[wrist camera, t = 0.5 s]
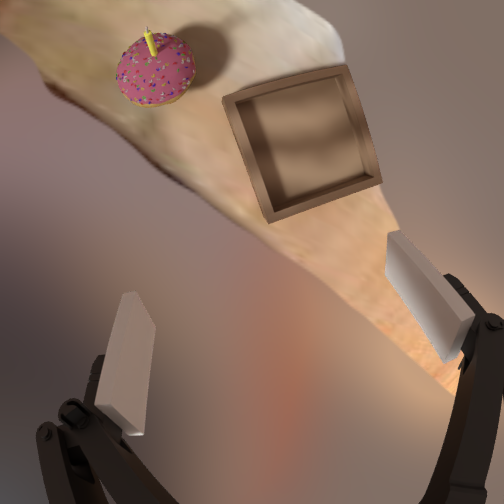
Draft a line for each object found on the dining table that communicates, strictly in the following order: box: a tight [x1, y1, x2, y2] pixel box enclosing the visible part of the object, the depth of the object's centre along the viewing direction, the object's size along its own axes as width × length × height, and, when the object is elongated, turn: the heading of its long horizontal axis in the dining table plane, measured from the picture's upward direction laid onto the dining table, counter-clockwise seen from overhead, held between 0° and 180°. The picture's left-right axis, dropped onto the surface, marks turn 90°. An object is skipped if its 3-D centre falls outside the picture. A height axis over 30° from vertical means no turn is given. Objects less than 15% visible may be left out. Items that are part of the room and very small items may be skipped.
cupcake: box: [116, 26, 196, 108], centre depth 25 cm, size 9×8×12 cm
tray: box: [222, 65, 383, 224], centre depth 34 cm, size 15×15×4 cm
